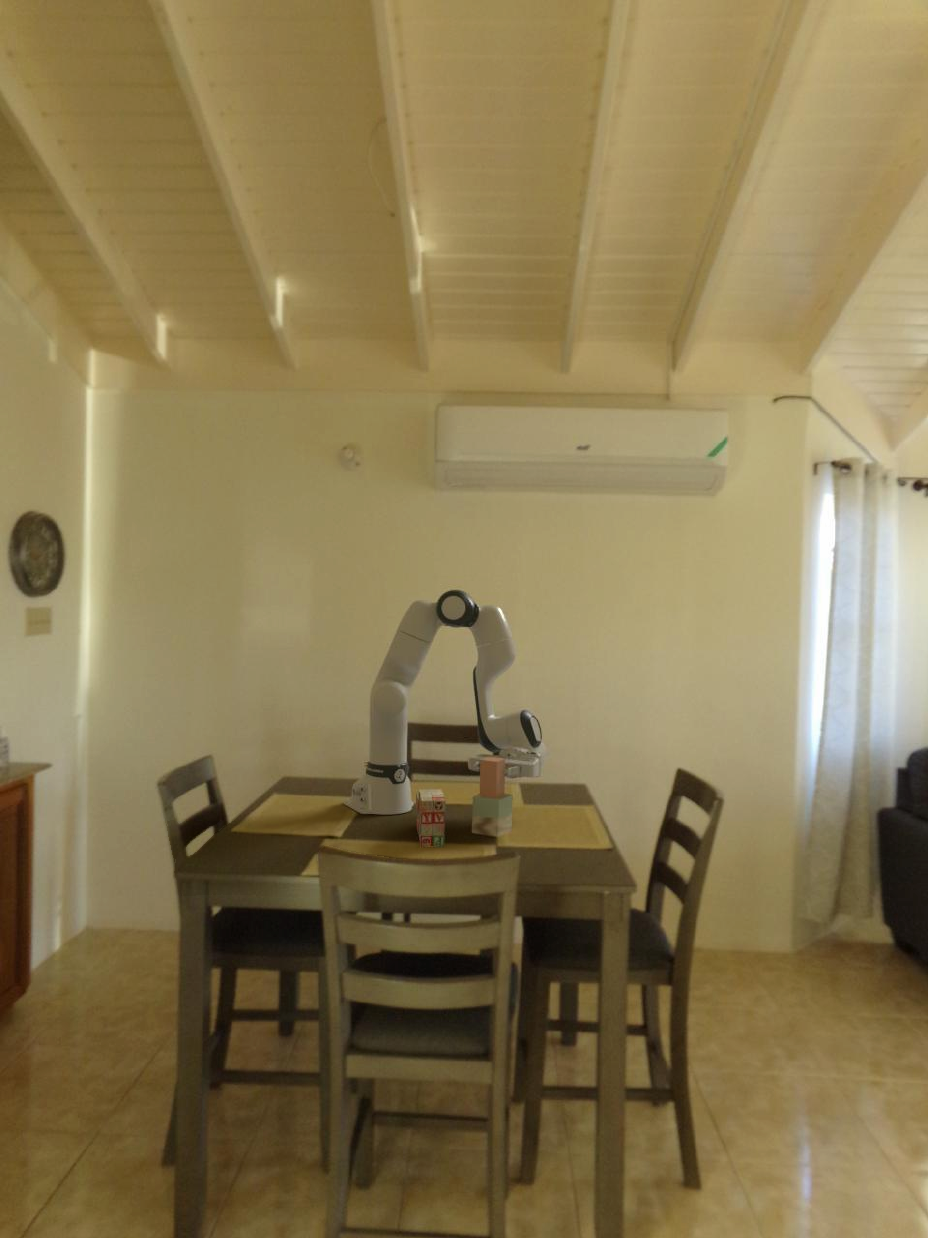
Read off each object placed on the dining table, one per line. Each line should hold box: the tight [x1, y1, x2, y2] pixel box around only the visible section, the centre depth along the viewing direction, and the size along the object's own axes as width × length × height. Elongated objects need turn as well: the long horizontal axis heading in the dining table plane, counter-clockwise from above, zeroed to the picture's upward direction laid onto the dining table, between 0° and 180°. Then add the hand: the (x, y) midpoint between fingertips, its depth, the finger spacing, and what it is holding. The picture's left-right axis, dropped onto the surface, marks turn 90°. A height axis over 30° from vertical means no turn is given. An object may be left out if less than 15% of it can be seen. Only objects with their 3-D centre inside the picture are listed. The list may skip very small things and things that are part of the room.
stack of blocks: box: [415, 788, 446, 847], centre depth 250 cm, size 21×6×12 cm, turn 6°
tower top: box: [471, 793, 514, 819], centre depth 255 cm, size 8×8×5 cm
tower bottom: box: [471, 812, 513, 838], centre depth 255 cm, size 8×8×5 cm
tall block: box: [479, 757, 506, 799], centre depth 254 cm, size 5×5×10 cm
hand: (490, 770), depth 253 cm, fingers open, 8 cm apart
